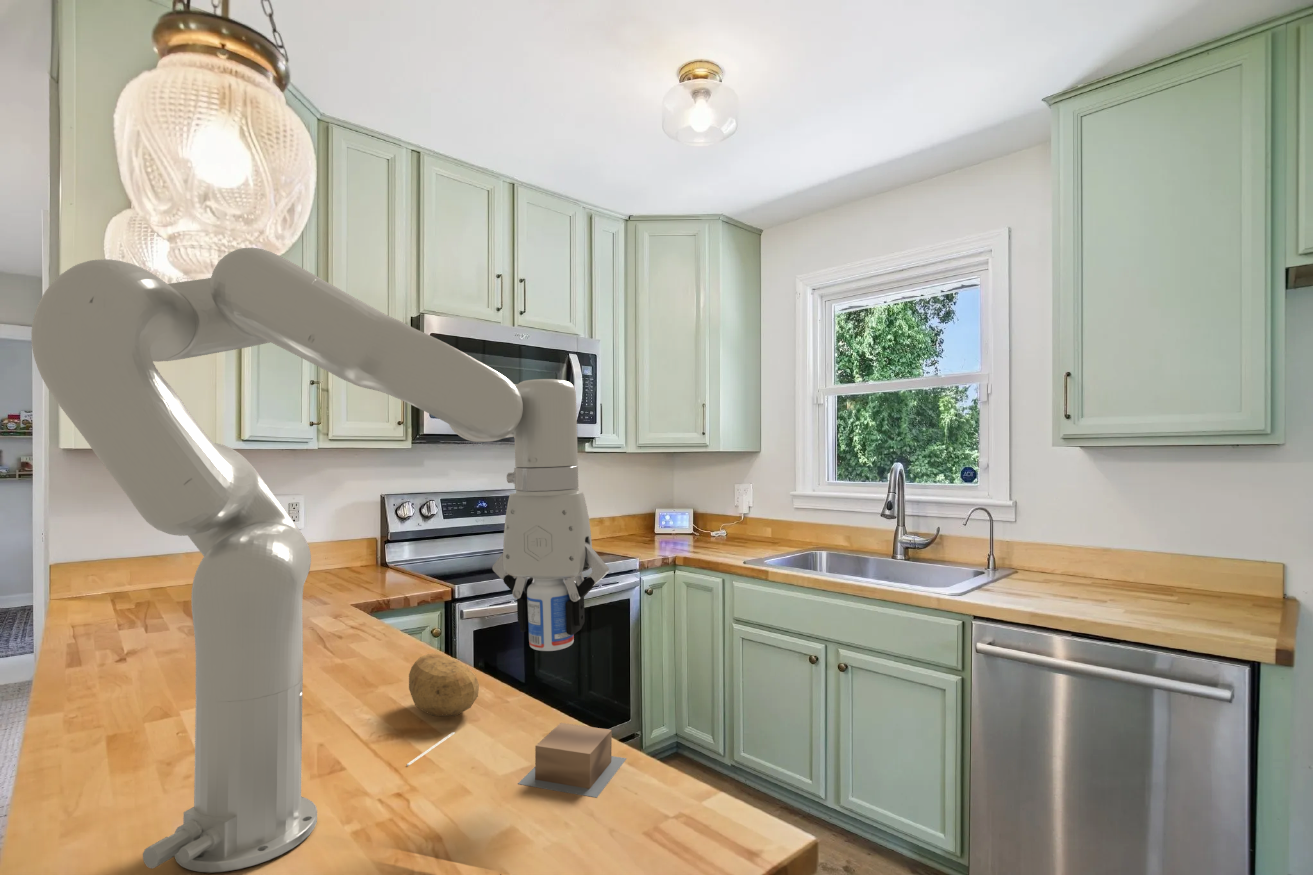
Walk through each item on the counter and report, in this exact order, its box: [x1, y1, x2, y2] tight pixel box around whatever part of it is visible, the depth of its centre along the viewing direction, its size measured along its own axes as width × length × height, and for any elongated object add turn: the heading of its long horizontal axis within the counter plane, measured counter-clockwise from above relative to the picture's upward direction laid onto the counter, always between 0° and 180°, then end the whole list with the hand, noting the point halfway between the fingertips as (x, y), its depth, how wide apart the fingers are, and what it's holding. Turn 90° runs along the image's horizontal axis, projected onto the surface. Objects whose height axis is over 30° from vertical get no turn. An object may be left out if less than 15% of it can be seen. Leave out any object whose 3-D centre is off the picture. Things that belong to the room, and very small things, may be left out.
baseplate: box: [517, 755, 628, 798], centre depth 82 cm, size 10×10×1 cm
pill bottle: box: [527, 578, 575, 652], centre depth 82 cm, size 6×5×10 cm
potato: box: [408, 653, 480, 717], centre depth 102 cm, size 10×14×8 cm
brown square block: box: [534, 722, 613, 789], centre depth 83 cm, size 7×7×4 cm
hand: (551, 628), depth 82 cm, fingers closed on pill bottle, 5 cm apart
